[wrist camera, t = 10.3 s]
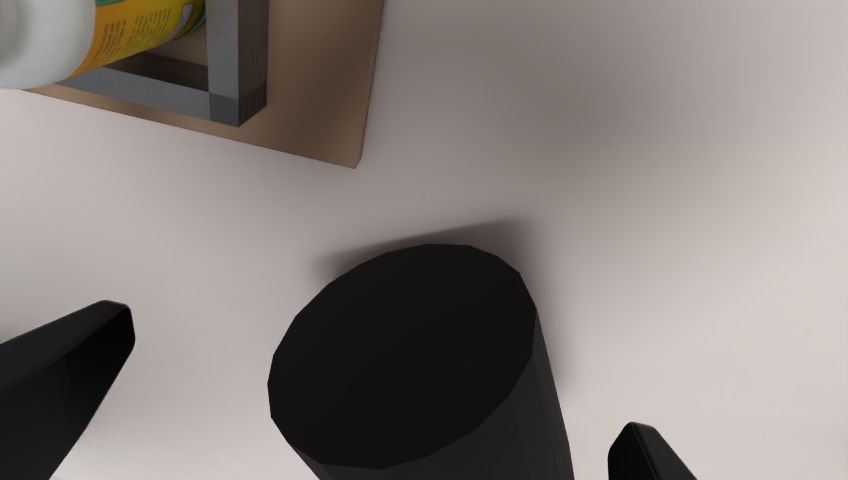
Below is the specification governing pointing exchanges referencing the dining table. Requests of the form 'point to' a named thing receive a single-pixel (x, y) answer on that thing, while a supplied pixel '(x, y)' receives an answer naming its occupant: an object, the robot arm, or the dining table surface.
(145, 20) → the supplement bottle
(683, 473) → the robot arm
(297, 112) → the holder plate
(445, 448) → the telephoto camera lens
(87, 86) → the end holder
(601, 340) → the dining table surface
